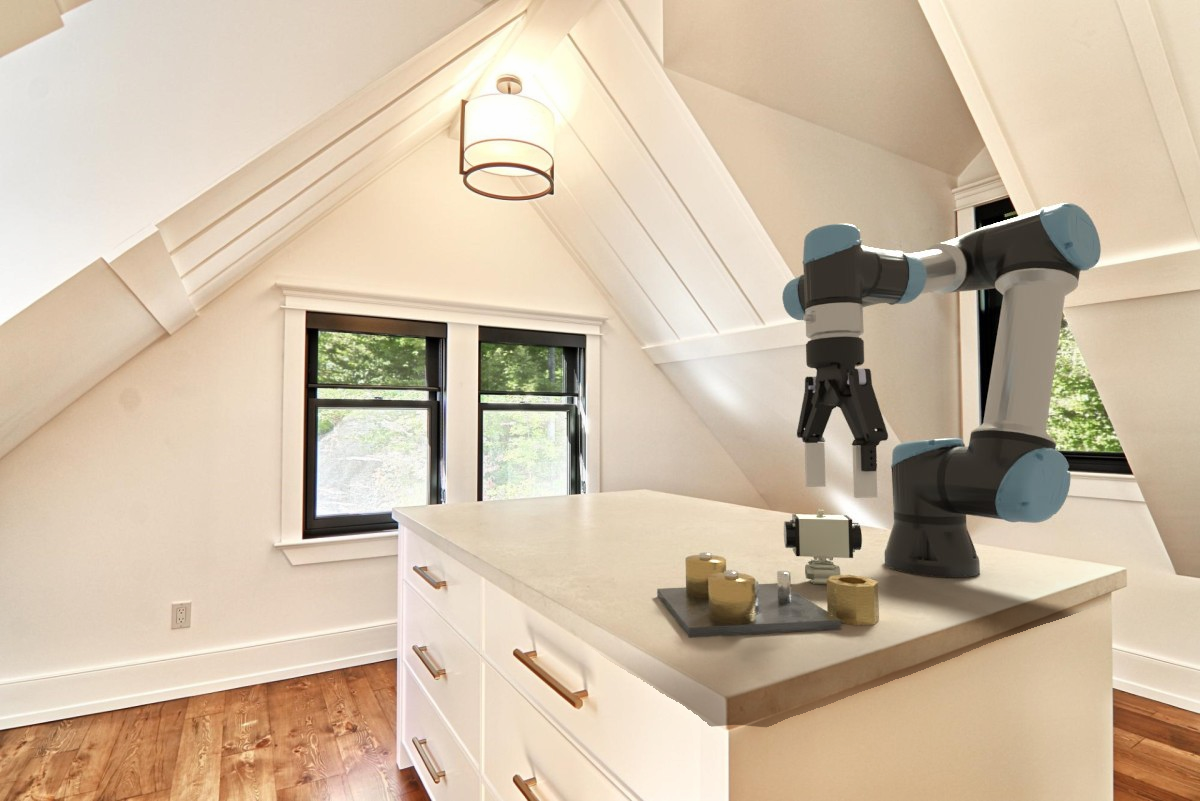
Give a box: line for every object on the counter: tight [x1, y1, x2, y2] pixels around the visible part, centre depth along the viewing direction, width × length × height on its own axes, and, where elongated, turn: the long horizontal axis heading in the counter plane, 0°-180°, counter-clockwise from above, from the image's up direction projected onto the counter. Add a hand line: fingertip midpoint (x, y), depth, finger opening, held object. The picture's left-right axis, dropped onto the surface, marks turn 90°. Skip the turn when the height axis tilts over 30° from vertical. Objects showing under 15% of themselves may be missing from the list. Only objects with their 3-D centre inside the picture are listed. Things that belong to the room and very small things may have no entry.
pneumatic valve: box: [783, 509, 863, 586], centre depth 100 cm, size 6×12×12 cm, turn 78°
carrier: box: [656, 552, 842, 639], centre depth 84 cm, size 20×18×7 cm
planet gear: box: [826, 574, 880, 627], centre depth 81 cm, size 6×6×5 cm
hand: (838, 491), depth 82 cm, fingers open, 13 cm apart
